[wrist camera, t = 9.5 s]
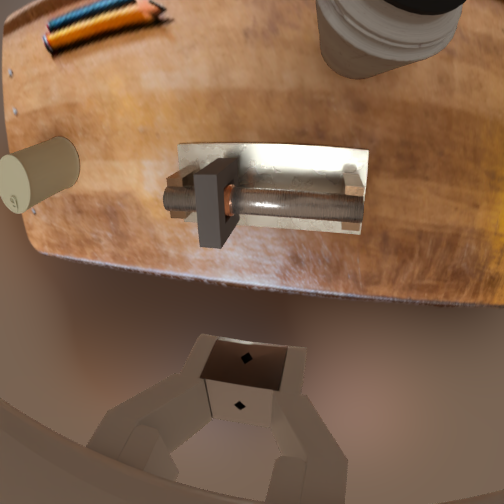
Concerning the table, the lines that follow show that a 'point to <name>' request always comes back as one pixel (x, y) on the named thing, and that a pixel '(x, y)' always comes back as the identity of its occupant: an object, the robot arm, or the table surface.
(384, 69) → the thermos bottle
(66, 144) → the can
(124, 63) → the table surface
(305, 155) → the rail
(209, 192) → the collar
